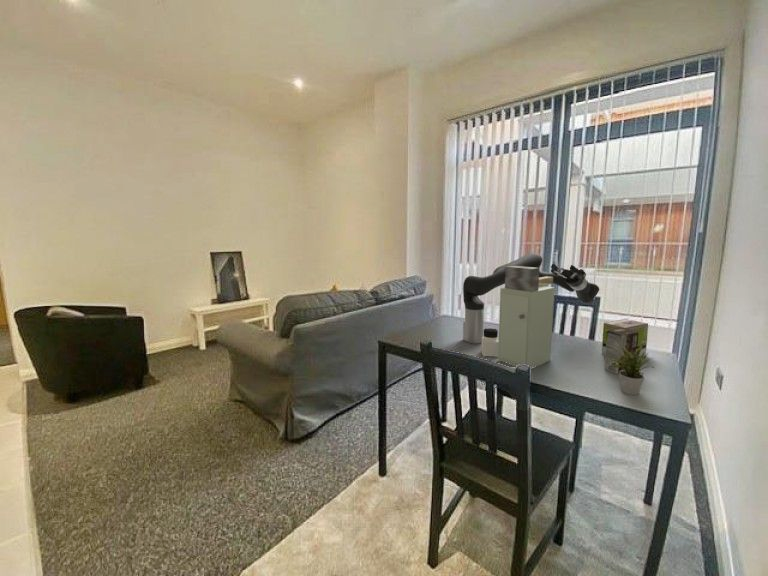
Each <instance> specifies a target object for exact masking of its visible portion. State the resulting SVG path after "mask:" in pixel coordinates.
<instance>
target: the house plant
mask: <svg viewBox="0 0 768 576" xmlns="http://www.w3.org/2000/svg"><path fill="white" fill-rule="evenodd" d="M617 345H618V344H617ZM619 346H620V345H619ZM620 347H621V346H620ZM621 348H622V347H621ZM641 349H643V348H642V346H640V347H639V348H637V349H636V351H635V352H634V354H633V358H632V357H631V355H630V353H629V352H628V351H627V350H626V349H623V348H622V350H623V352H624V355H625V356H623V355H622V356H623V358H624V359H625V360H626V362H627V363H625V362H623V361H624V360H623V359H621V358H620V357H621V356H620V355H619V354H620V353H619V354H618V355H619V356H620V357H618V356H617V357H618V358H619V359H620V360H616V359H610V360H613V361H616V362H618V363H620V364H622V365H623V366H624V367H623V366H621V365H618V364H614V365H612V366H615V367H614V368H618V367H623V368H624V369H625V370H624V369H623V371H620V372H619V374H618V375H619V385H620V391H621V392H623V393H624V394H627V395H632V396H636V395H639V394H640V392H641V389H642V385H643V382H644V379H645V376H644V372H641V371H642V370H644V369H647V368H648V366H645V367H642V366H643V365H644V364H645V363H647V362H648V361H650V360H652V359H653V357H651V358H649V359H647V360H646V358H647V356H648V355H649V352H646V355H644V354H645V351H644V352H643V353H642V355H641V356H639V353H640V351H641ZM609 350H611V349H609ZM613 351H614V350H613ZM625 351H626V352H625ZM616 352H617V351H616ZM614 353H615V352H614ZM626 353H627V354H626ZM627 356H628V357H627ZM638 356H639V357H638ZM622 360H623V361H622ZM611 362H612V361H611ZM641 367H642V368H641ZM640 368H641V369H640ZM652 368H653V369H656V368H655V367H654V366H652Z"/></svg>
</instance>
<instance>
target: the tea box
mask: <svg viewBox="0 0 768 576" xmlns="http://www.w3.org/2000/svg"><path fill="white" fill-rule="evenodd" d="M602 328H603V329H602V331H603V332H602V342H601V343H602V345H601V353H603V354H602V355H605V353H606V341H607V331H608V330H615V329H621V328H626V329H629V330H633V331H635V332H639V334H638V345H637V348H639V347H640V346H642V348H643V349H641V351H640V353H639V356H638V358H640V357H641V355H642V353H643V352H644V351H645V354H644V356H645V355H646V354H647V343H648V331H649V323H647V322H643V321H637V320H635V319H628V318H622V319H618V320H617V319H616V320H613V321H606V322H603V326H602Z"/></svg>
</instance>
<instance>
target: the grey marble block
mask: <svg viewBox="0 0 768 576" xmlns="http://www.w3.org/2000/svg"><path fill="white" fill-rule="evenodd" d="M539 270H540V267H539V268H535V267H523V266H507V267H506V270H505V284H504V287H505V288H509V289H515V290H522V291H529V292H532V291H537V290H538V287H539V286H549V285H553V284H554V283H553V277H548V276H546V277H540V278H539Z"/></svg>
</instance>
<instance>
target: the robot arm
mask: <svg viewBox="0 0 768 576" xmlns="http://www.w3.org/2000/svg"><path fill="white" fill-rule="evenodd" d="M542 263H543V257H542V255H541V254H539V253H537V252H529V253H526V254H524V255H523V256H521V257H519V258H517V259H515V260H513V261H510V262H509V263H506V264H503V265H500V266H498V267H497V268H495V269H494V271H493V272H492V274H490V275H487V276H476V275H475V276H474V275H469V276H468V275H467V277H465V279H464V281H463V284H462V293H463V295H462V297H463V303H464V321H463V323H462V325H463V326H462V339H463V341H464V342H466V343H468V344H482V337H484V319H485V317H484V316H485V303H484V302H483V301H482V300H481V299H480V298H479V296H484V295H486V294H487V293H489V292H491V291H493V290H494V289H496V288H498V287H500V286H503V285H505V270H506V267H507V266H523V267H535V268H539V278H540V277H546V276H548V277H553V284H554V285H556V286H558V287H560V288H562V289H564V290H567V291H568V292H570V293H574V292H575V293H576V296H577V298H578V300H579V301H580V302H581V303H584V304H591V303H592V302H594V300H595V298H596V296H597V295H598V294H599V292H600V287H599V286H598V285H597V284H595V283H593V282H589V281H588V280H587V279H586V277H587V273H586V272H585V270H583V269H582V268H580V269H579V268H577V267H576V266H574V265H573V264H570V267H569V269H566V268H564V267H558V266H557V265H556V264H555V263H552V264H551V266H550V268H551V269H550V272H546V271H544V270H543V271H542V270H541V269H540V267H541V265H542Z"/></svg>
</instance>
